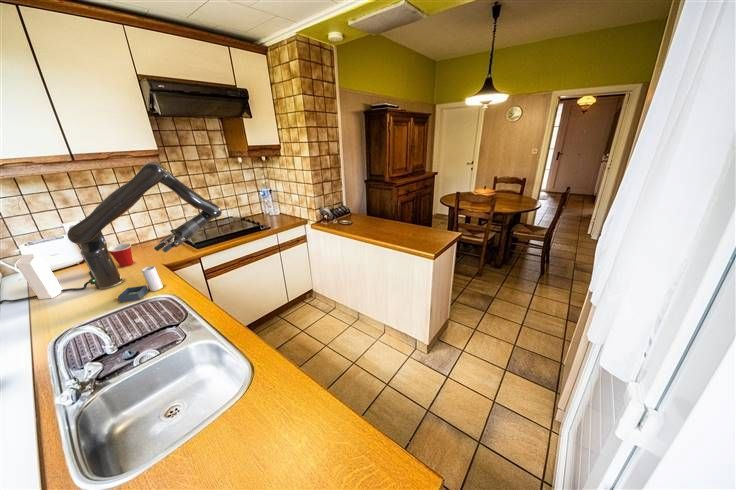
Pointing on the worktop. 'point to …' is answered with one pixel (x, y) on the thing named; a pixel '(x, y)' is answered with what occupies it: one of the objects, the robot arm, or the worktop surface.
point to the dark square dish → (133, 293)
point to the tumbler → (152, 278)
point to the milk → (39, 276)
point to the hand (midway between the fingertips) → (159, 250)
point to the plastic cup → (122, 254)
